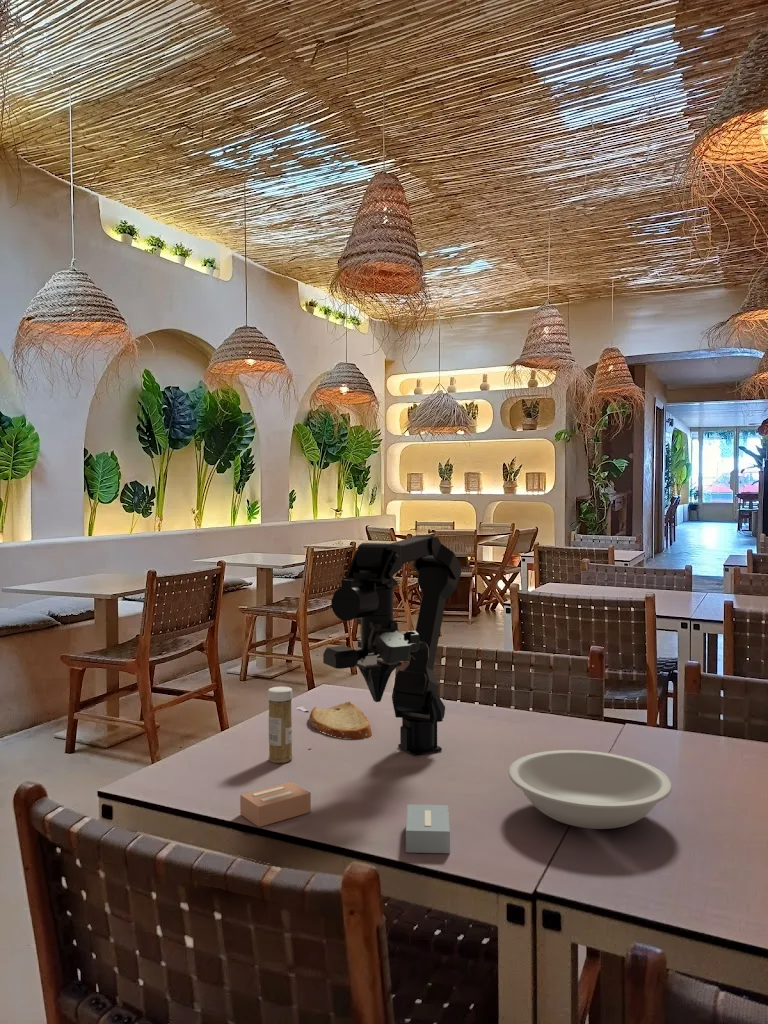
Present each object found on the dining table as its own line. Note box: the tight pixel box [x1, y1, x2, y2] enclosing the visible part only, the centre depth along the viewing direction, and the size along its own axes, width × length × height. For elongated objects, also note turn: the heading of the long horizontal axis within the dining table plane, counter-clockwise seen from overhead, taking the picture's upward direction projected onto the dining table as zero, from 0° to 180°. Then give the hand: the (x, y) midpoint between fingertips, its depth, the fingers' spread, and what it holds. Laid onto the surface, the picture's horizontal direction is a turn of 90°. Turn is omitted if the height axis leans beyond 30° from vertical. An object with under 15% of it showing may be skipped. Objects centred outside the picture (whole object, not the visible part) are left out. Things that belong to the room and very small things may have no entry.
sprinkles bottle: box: [267, 686, 293, 764], centre depth 140 cm, size 5×5×14 cm
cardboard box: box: [239, 781, 312, 828], centre depth 115 cm, size 3×6×9 cm
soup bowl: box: [507, 749, 673, 830], centre depth 113 cm, size 24×24×7 cm
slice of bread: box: [308, 701, 373, 740], centre depth 163 cm, size 18×18×4 cm
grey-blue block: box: [405, 803, 451, 854], centre depth 106 cm, size 3×6×9 cm
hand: (377, 701), depth 132 cm, fingers closed
